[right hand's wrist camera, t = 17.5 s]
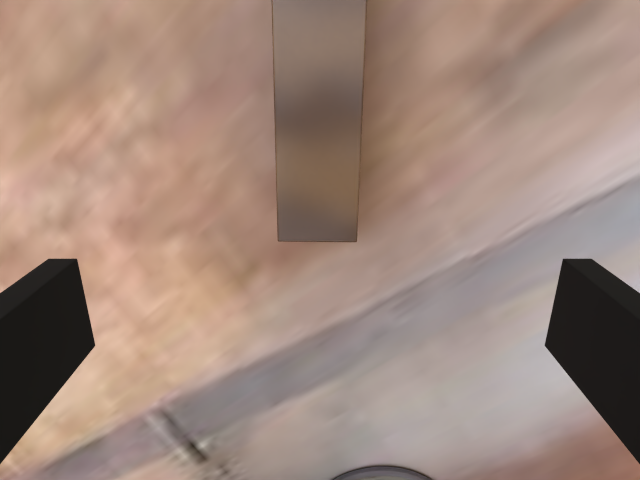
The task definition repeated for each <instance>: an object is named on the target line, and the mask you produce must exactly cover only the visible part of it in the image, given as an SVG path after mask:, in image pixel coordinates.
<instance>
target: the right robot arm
mask: <svg viewBox="0 0 640 480" xmlns="http://www.w3.org/2000/svg"><path fill="white" fill-rule="evenodd" d="M94 346H95V342H94V338H93V333H92V328H91V323H90V318H89V314H88V309H87V304H86V299H85V295H84V290H83V285H82V280H81V276H80V271H79V266H78V261H77V259H48V260H46V261H45V262H43V263H42V264H41V265H39V266H38V267H36V268H35V269H34V270H32V271H31V272H29V273H28V274H27V275H25V276H24V277H22V278H21V279H20V280H18V281H17V282H15V283H14V284H13V285H11V286H10V287H8V288H7V289H6V290H4V291H3V292H1V293H0V464H1V462H2V461H3V460H4V459H5V457H6V456H7V455H8V454H9V452H10V451H11V450H12V449H13V447H14V446H15V445H16V444H17V442H18V441H19V440H20V439H21V437H22V436H23V435H24V434H25V432H26V431H27V430H28V429H29V427H30V426H31V425H32V424H33V423H34V421H35V420H36V419H37V418H38V416H39V415H40V414H41V413H42V411H43V410H44V409H45V408H46V406H47V405H48V404H49V403H50V401H51V400H52V399H53V398H54V396H55V395H56V394H57V393H58V391H59V390H60V389H61V388H62V386H63V385H64V384H65V383H66V381H67V380H68V379H69V378H70V376H71V375H72V374H73V373H74V371H75V370H76V369H77V368H78V366H79V365H80V364H81V363H82V361H83V360H84V359H85V358H86V356H87V355H88V354H89V353H90V351H91V350H92V349H93V348H94ZM545 346H546V348H547V349H548V350H549V351H550V353H551V354H552V355H553V356H554V358H555V359H556V360H557V361H558V363H559V364H560V365H561V366H562V368H563V369H564V370H565V371H566V373H567V374H568V375H569V376H570V378H571V379H572V380H573V381H574V383H575V384H576V385H577V386H578V388H579V389H580V390H581V391H582V393H583V394H584V395H585V396H586V398H587V399H588V400H589V401H590V403H591V404H592V405H593V406H594V408H595V409H596V410H597V411H598V413H599V414H600V415H601V416H602V418H603V419H604V420H605V421H606V423H607V424H608V425H609V426H610V427H611V429H612V430H613V431H614V432H615V434H616V435H617V436H618V437H619V439H620V440H621V441H622V442H623V444H624V445H625V446H626V447H627V449H628V450H629V451H630V452H631V454H632V455H633V456H634V457H635V459H636V460H637V461H638V462H639V464H640V293H639V292H637V291H636V290H634V289H633V288H632V287H630V286H629V285H627V284H626V283H625V282H623V281H622V280H620V279H619V278H618V277H616V276H615V275H613V274H612V273H611V272H609V271H608V270H606V269H605V268H604V267H602V266H601V265H599V264H598V263H597V262H595V261H594V260H592V259H563V261H562V266H561V271H560V276H559V280H558V285H557V290H556V295H555V299H554V304H553V309H552V314H551V318H550V323H549V328H548V333H547V337H546V342H545ZM333 480H431V479H429V478H427V477H426V476H424V475H422V474H419V473H417V472H414V471H411V470H407V469H402V468H396V467H369V468H363V469H359V470H355V471H351V472H348V473H346V474H343V475H341V476H339V477H337V478H335V479H333Z"/></svg>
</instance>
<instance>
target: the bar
mask: <svg viewBox="0 0 640 480" xmlns="http://www.w3.org/2000/svg"><path fill="white" fill-rule="evenodd" d="M366 13H367V0H272V30H273V70H274V109H275V149H276V189H277V229H278V241H294V242H357V226H358V202H359V178H360V155H361V131H362V107H363V84H364V60H365V37H366Z"/></svg>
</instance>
